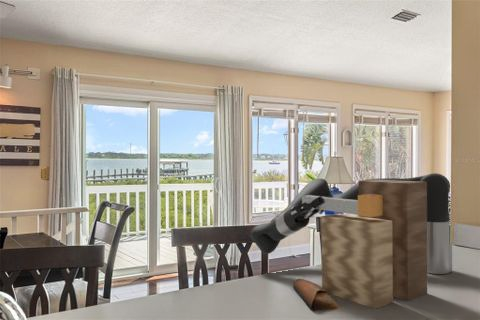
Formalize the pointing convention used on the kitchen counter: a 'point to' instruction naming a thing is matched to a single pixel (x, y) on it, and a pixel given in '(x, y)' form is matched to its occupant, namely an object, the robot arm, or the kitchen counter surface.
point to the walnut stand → (404, 232)
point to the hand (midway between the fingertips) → (326, 198)
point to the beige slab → (358, 259)
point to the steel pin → (351, 204)
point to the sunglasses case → (314, 295)
